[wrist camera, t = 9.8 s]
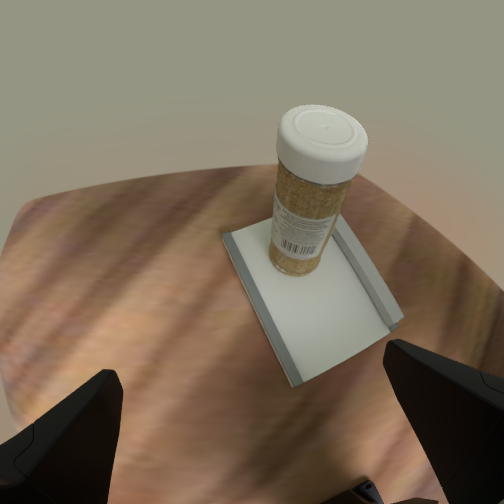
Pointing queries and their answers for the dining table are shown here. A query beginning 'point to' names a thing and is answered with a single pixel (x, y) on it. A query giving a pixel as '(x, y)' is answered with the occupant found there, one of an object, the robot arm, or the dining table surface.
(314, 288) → the base
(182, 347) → the dining table surface
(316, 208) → the sprinkles bottle
